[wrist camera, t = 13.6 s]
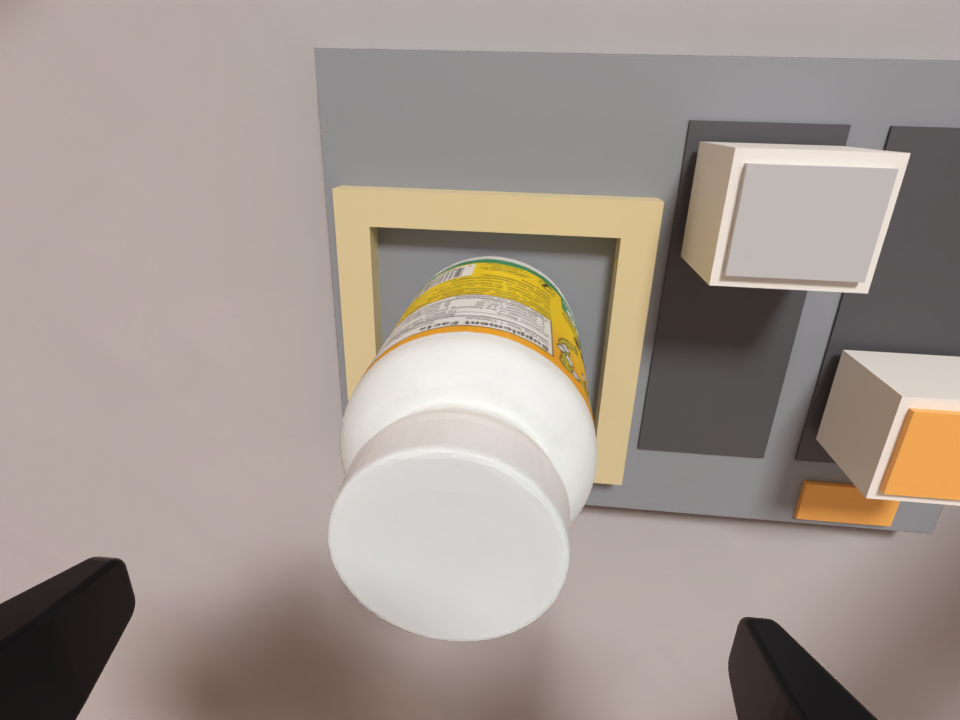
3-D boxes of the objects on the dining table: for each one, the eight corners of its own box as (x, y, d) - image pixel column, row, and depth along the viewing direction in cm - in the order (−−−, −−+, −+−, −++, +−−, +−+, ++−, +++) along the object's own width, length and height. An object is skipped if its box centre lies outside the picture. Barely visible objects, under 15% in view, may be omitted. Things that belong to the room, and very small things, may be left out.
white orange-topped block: (971, 357, 16) (1064, 410, 13) (935, 447, 17) (1014, 514, 15) (842, 349, 17) (907, 399, 14) (815, 438, 18) (870, 502, 15)
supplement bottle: (425, 233, 17) (301, 362, 8) (602, 278, 17) (669, 457, 8) (394, 390, 19) (270, 628, 10) (550, 430, 19) (559, 702, 10)
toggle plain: (841, 146, 14) (916, 153, 12) (810, 262, 16) (872, 295, 13) (699, 141, 15) (738, 147, 12) (680, 256, 16) (711, 287, 13)
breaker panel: (1088, 67, 15) (1165, 61, 13) (910, 510, 20) (946, 550, 18) (329, 52, 16) (302, 44, 14) (358, 466, 22) (341, 498, 20)
